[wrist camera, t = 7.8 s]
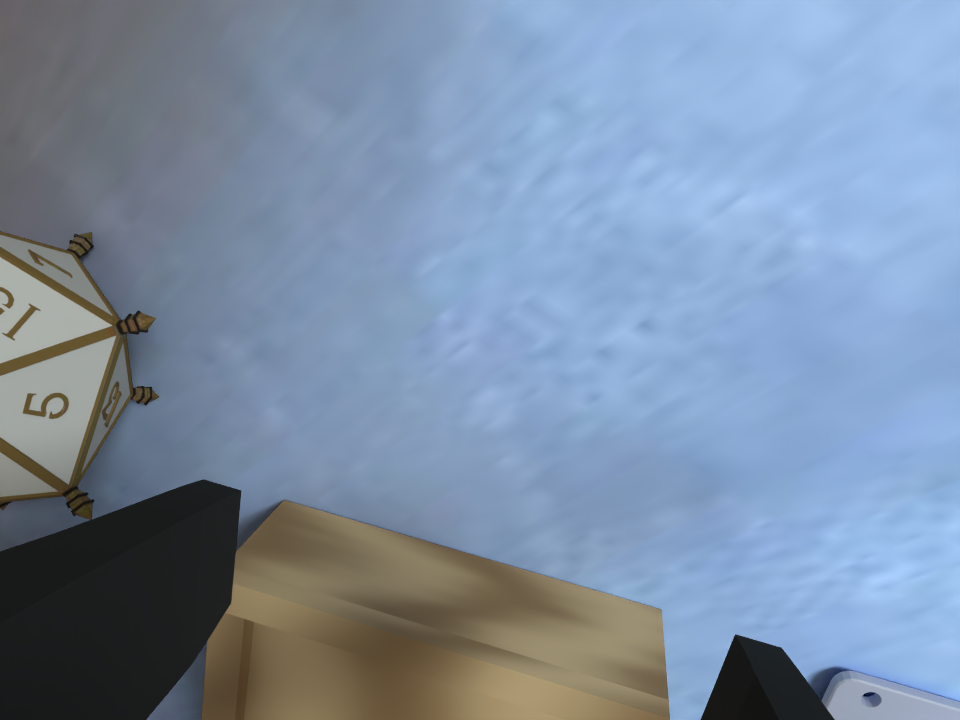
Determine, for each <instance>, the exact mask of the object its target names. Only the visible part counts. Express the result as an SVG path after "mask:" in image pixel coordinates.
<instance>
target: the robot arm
mask: <svg viewBox="0 0 960 720" xmlns="http://www.w3.org/2000/svg"><path fill="white" fill-rule="evenodd" d="M240 499H241V490H238V489H234V488H231V487H227V486H224V485H221V484H217V483H214V482H210V481H207V480H200V481H197V482H194V483H190V484H187V485H184V486H181V487H179V488H176V489H173V490H170V491H167V492H165V493H162V494H159V495H157V496H154V497H151V498H149V499H146V500H143V501H141V502H138V503H135V504H133V505H130V506H127V507H125V508H122V509H120V510H117V511H114V512H111V513H109V514H106V515H103V516H101V517H98V518H95V519H93V520H90V521H87V522H85V523H82V524H79V525H76V526H74V527H71V528H68V529H66V530H63V531H60V532H57V533H55V534H52V535H49V536H46V537H43V538H40V539H37V540H34V541H31V542H28V543H25V544H22V545H19V546H16V547H13V548H10V549H7V550H4V551H1V552H0V720H146V719H147V718H148V717H149V715H150V714H151V713H152V712H153V711H154V710H155V708H156V707H157V706H158V705H159V703H160V702H161V701H162V700H163V699H164V697H165V696H166V695H167V694H168V693H169V691H170V690H171V689H172V688H173V687H174V685H175V684H176V683H177V682H178V680H179V679H180V678H181V677H182V676H183V674H184V673H185V672H186V671H187V669H188V668H189V667H190V666H191V664H192V663H193V662H194V660H195V659H196V657H197V656H198V654H199V653H200V651H201V650H202V648H203V647H204V645H205V644H206V642H207V641H208V639H209V638H210V636H211V635H212V633H213V631H214V630H215V628H216V627H217V625H218V623H219V622H220V620H221V619H222V617H223V615H224V614H225V612H226V611H227V609H228V607H229V606H230V604H231V600H232V589H233V578H234V566H235V555H236V544H237V532H238V521H239V510H240ZM868 692H875V694H874V695H872V696H869V697H865V696H863V695H864V694H865V693H868ZM701 720H960V702H958V701H955V700H951V699H948V698H944V697H941V696H937V695H934V694H931V693H927V692H924V691H920V690H917V689H913V688H910V687H907V686H903V685H900V684H896V683H893V682H889V681H886V680H883V679H879V678H876V677H872V676H869V675H865V674H862V673H859V672H855V671H843V672H840V673H838V674H836V675H835V676H834V677H833V678H832V679H831V681H830V683H829V685H828V688H827V690H826V692H825V694H824V696H823V698H822V700H820V699H819V697H818V696H817V694H816V693H815V692H814V690H813V689H812V688H811V686H810V685H809V683H808V682H807V681H806V679H805V678H804V677H803V675H802V674H801V673H800V671H799V670H798V669H797V667H796V666H795V665H794V663H793V662H792V661H791V659H790V658H789V657H788V655H787V654H786V653H785V652H784V650H783V649H782V648H780V647H777V646H773V645H770V644H767V643H763V642H760V641H756V640H753V639H749V638H746V637H743V636H739V635H736V634H735V636H734V639H733V641H732V644H731V646H730V649H729V651H728V653H727V656H726V658H725V661H724V663H723V666H722V668H721V671H720V673H719V676H718V678H717V681H716V683H715V686H714V688H713V691H712V693H711V696H710V698H709V701H708V703H707V706H706V708H705V710H704V713H703V715H702V718H701Z"/></svg>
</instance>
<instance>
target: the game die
mask: <svg viewBox="0 0 960 720" xmlns="http://www.w3.org/2000/svg"><path fill="white" fill-rule="evenodd" d="M69 242H70V246H69V249H67V250H64V249H60V248H57V247H53V246H50V245H46V244H43V243H39V242H36V241H32V240H29V239H25V238H22V237H18V236H15V235H11V234H8V233H4V232H1V231H0V509H2V510H4V509H5V507H6V506H7V505H8V504H9V503H11V502H13V501H21V500H30V499H40V498H50V497H60V496H65V497H66V499H67V503H66V505H67V506H68V508H71V509H72V511H71V512H72V514H73V515H74V516H75V515H78V516H81V517H84V518H87V519H90V520H92V503H93V502H94V500H93V499H92V500H90V499H89V498H88V496H87V495H88V493H83V492H81V491H80V490H78V487H77V485H78V484H79V482H80V480H81V479H82V477H83V476H84V474H85V472H86V471H87V469H88V467H89V466H90V464H91V462H92V461H93V459H94V458H95V456H96V454H97V453H98V451H99V449H100V448H101V446H102V444H103V443H104V441H105V439H106V438H107V436H108V435H109V433H110V431H111V430H112V428H113V426H114V425H115V423H116V421H117V420H118V418H119V417H120V415H121V413H122V412H123V410H124V408H125V407H126V405H127V403H128V402H129V400H130V399H133V400H135V401H136V402H137V403H140V402H142V403H144V404H145V405H147V404H148V402H150V401H152V400H155V399H157V398H159V396H158V395H157V394H156V393H155V392H154V391H153V390H152V387H146V388H145V387H144V386H140V387H137V388H133V384H132V377H131V369H130V361H129V353H128V345H127V337H126V334H127V333H130V334H139V332H148V328H149V327H150V326H151V324H152V323H153V322H154V320H155V319H156V318H154V317H151V316H148V315H145V314H142V313H141V312H140V311H137V312H136V314H134V315H132V314H129V315H128V316H127V317H126V319H124V320H121V319H120V318H119V316H118V315H117V313H116V312H115V310H114V309H113V307H112V306H111V305H110V303H109V302H108V300H107V299H106V297H105V296H104V294H103V293H102V292H101V290H100V289H99V287H98V286H97V284H96V283H95V281H94V280H93V279H92V277H91V276H90V274H89V273H88V271H87V270H86V268H85V267H84V265H83V264H82V263H81V261H80V260H79V257H80V255H83V254H86V253H88V251H87V250H88V249H90V248H93V247H94V246H93V245H92V232H91V233H86V234H81V235H77V234H75V235H74V239H73V241H72V240H70V241H69Z"/></svg>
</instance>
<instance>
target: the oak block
mask: <svg viewBox="0 0 960 720" xmlns="http://www.w3.org/2000/svg"><path fill="white" fill-rule="evenodd" d="M201 720H670V713H669V700H668V687H667V674H666V661H665V647H664V634H663V621H662V610H661V609H657V608H654V607H651V606H647V605H644V604H640V603H637V602H633V601H630V600H626V599H623V598H620V597H616V596H613V595H609V594H606V593H602V592H599V591H596V590H592V589H589V588H585V587H582V586H578V585H575V584H571V583H568V582H565V581H561V580H558V579H554V578H551V577H547V576H544V575H540V574H537V573H534V572H530V571H527V570H523V569H520V568H516V567H513V566H509V565H506V564H503V563H499V562H496V561H492V560H489V559H485V558H482V557H479V556H475V555H472V554H468V553H465V552H461V551H458V550H454V549H451V548H448V547H444V546H441V545H437V544H434V543H430V542H427V541H423V540H420V539H417V538H413V537H410V536H406V535H403V534H399V533H396V532H393V531H389V530H386V529H382V528H379V527H375V526H372V525H368V524H365V523H362V522H358V521H355V520H351V519H348V518H344V517H341V516H337V515H334V514H331V513H327V512H324V511H320V510H317V509H313V508H310V507H306V506H303V505H300V504H296V503H293V502H289V501H286V500H283V501H282V503H281V504H280V505H279V506H278V507H277V508H276V509H275V510H274V511H273V512H272V513H271V514H270V515H269V517H268V518H267V519H266V520H265V521H264V522H263V523H262V524H261V525H260V526H259V527H258V528H257V529H256V531H255V532H254V533H253V534H252V535H251V536H250V537H249V538H248V539H247V540H246V541H245V542H244V543H243V545H242V546H241V547H240V548H239V549H238V550H237V551H236V555H235V566H234V578H233V589H232V600H231V604H230V606H229V607H228V609H227V611H226V612H225V614H224V615H223V617H222V619H221V620H220V622H219V623H218V625H217V627H216V628H215V630H214V631H213V633H212V635H211V636H210V638H209V639H208V641H207V652H206V665H205V678H204V691H203V705H202V718H201Z"/></svg>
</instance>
